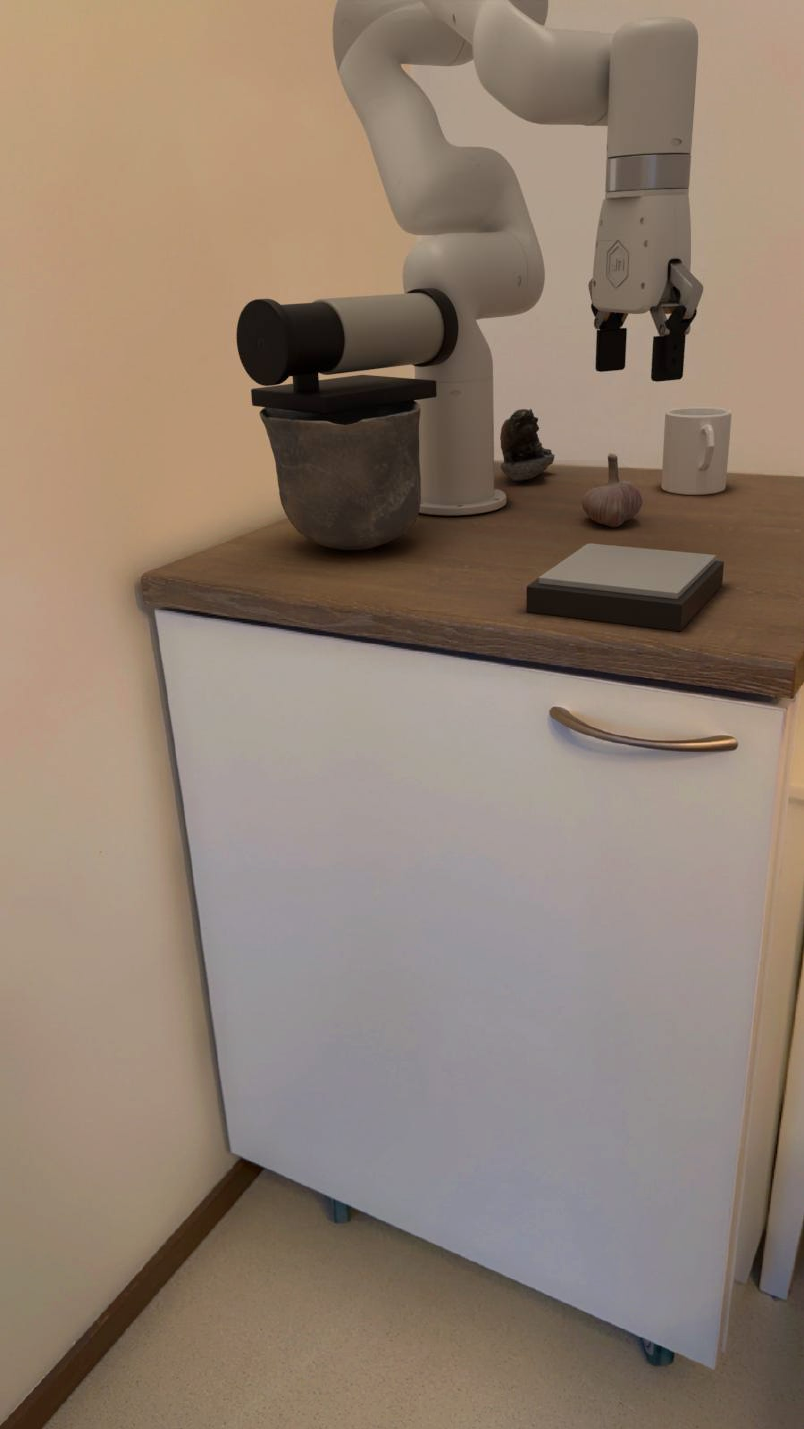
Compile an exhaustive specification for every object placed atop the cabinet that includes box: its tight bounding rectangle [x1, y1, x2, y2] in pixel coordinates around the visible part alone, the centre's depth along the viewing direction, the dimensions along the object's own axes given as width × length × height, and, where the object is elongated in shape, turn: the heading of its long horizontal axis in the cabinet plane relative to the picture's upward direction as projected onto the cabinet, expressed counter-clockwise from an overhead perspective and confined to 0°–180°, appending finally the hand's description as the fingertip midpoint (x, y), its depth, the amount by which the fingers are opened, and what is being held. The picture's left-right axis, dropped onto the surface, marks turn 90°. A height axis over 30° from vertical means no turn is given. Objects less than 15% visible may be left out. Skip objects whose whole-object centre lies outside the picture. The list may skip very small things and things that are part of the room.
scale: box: [525, 542, 725, 632], centre depth 98 cm, size 14×14×3 cm
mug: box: [660, 406, 733, 496], centre depth 136 cm, size 8×12×10 cm, turn 179°
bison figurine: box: [499, 408, 555, 482], centre depth 148 cm, size 12×7×10 cm, turn 168°
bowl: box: [259, 400, 421, 551], centre depth 117 cm, size 18×18×15 cm
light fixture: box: [235, 288, 459, 414], centre depth 115 cm, size 12×11×25 cm
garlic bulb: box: [581, 452, 643, 528], centre depth 123 cm, size 8×7×8 cm
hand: (637, 375), depth 105 cm, fingers open, 9 cm apart
